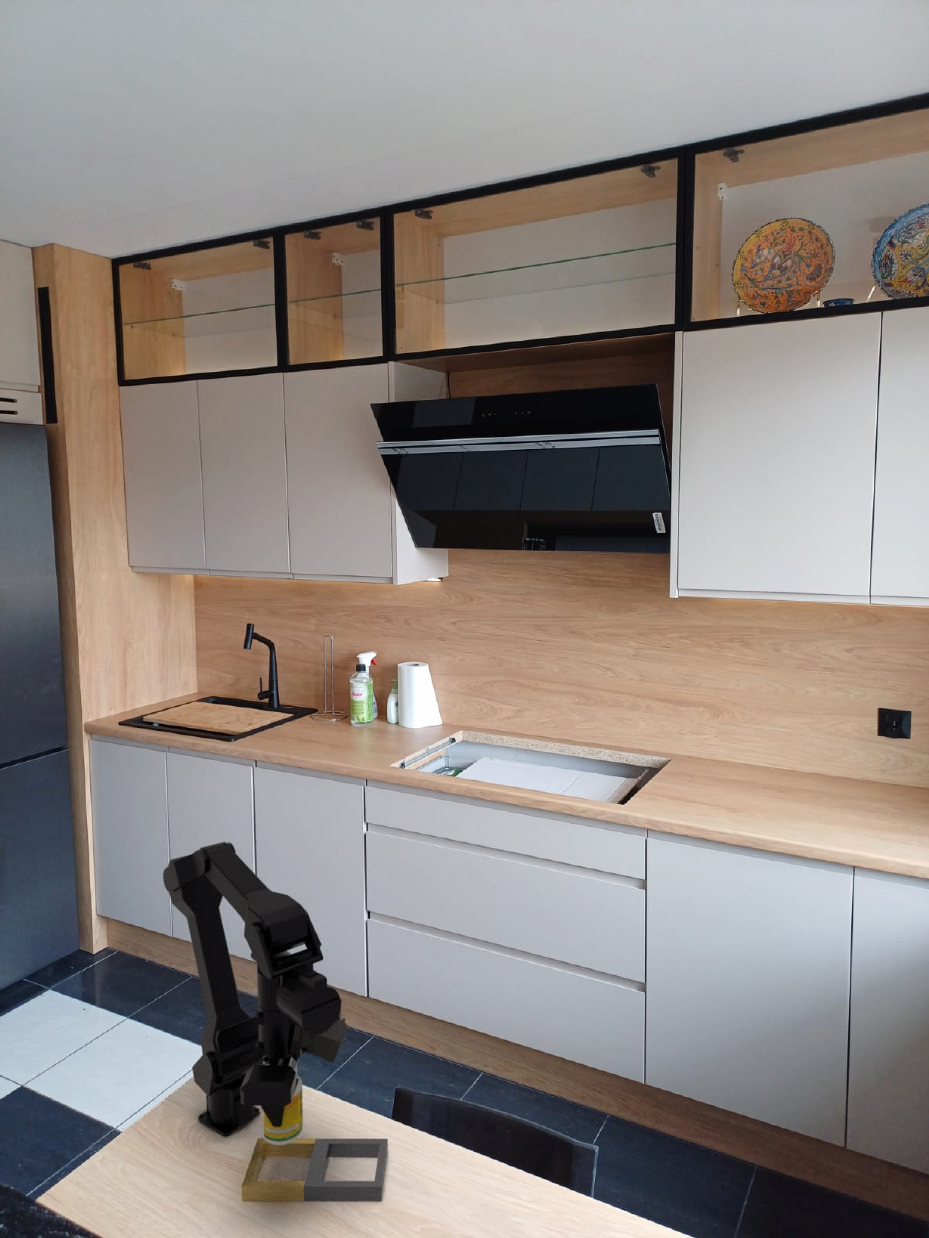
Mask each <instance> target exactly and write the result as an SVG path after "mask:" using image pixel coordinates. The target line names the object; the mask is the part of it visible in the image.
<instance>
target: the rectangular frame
mask: <svg viewBox="0 0 929 1238" xmlns="http://www.w3.org/2000/svg"><path fill="white" fill-rule="evenodd" d="M388 1140H389V1139H388V1138H299V1137H298V1138H297V1139H296V1140H295V1141H293V1142H291V1143H289V1144H286V1145H273V1144H270V1143H268V1142H267V1141H265V1140H264V1138H263V1137H261V1138H257V1140H256V1144H255V1146H254V1149H253V1152H252V1155H251V1158H250V1160H249V1163H248V1167H247V1168H246V1172H245V1175H244V1178H243V1181H242V1184H241V1186H240V1187H241V1201H242V1202H382V1201H383V1194H384V1193H383V1192H384V1184H385V1176H386V1171H387V1162H388V1161H387V1160H388V1155H389V1154H388V1153H389V1149H388V1148H389V1143H388V1142H389V1141H388ZM265 1158H310V1159H309V1164H308V1168H307V1172H306V1175H305V1179H304V1180H257V1179H258V1176H259V1173H260V1170H261V1167H262V1164H263V1160H264V1159H265ZM330 1158H377V1161H376V1168H375V1175H374V1180H325V1178H326V1174H327V1173H326V1172H327V1169H328V1163H329V1159H330Z"/></svg>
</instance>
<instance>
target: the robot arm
mask: <svg viewBox="0 0 929 1238" xmlns="http://www.w3.org/2000/svg"><path fill="white" fill-rule="evenodd" d="M236 852H237V851H236V849H235V846H234V845H233V843H231V842H229V841H228V842H226V841H222V842H218V843H215V844H214V843H213V844H209V845H205V846H202V847H200V848H199V849H198V850H195V851H194V852H193V853H191V854H186V855H183V856H179V857H175V858H172V859H170V860H169V862H168V865H167V866H166V867H165V868H164V870H163V873H162V875H163V876H162V878H163V879H162V880H163V884H164V887H165V889H166V891H167V892H168V895H169V898H170V901H171V902H170V903H171V904H172V905H173V906H174V907H175V908H176V909H177V910H178V911H179V912H180V913H181V914H182V915H183V916H184V917H185V918H186V921H187V925H188V930H189V934H190V939H191V945H192V949H193V953H194V959H195V963H196V968H197V971H198V972H197V973H198V977H199V982H200V987H201V992H202V995H203V1002H204V1006H205V1011H206V1016H207V1020H206V1023H205V1026H204V1029H203V1032H202V1035H201V1039H200V1044H201V1052H202V1055H201V1056H200V1057H199V1059H198V1060H197V1061H196V1062H195V1063H194V1064H193V1066H192V1074H193V1080H194V1083H195V1084H196V1085H197V1086H198V1087H199V1088H200V1090H202V1092H203V1093H204V1094H205V1097H206V1098H205V1099H206V1110H205V1111H204V1112H202V1113H201V1114H199V1115H198V1117H197V1119H198V1122H200V1123H202V1124H203V1125H205V1126H207V1127H209V1128H210V1129H212V1130H214V1131H215V1132H217V1133H219V1134H220V1135H222V1136H224V1137H228V1136H230V1135H231V1134H233V1133H234V1132H236V1131H237V1130H238V1129H240V1128H241V1127H243V1126H244V1125H246V1124H247V1123H248V1122H250V1121H252V1119H255V1117H257V1116H258V1115H260V1114H261V1112H260V1110H261V1109H260V1108H262V1109H263V1111H264V1113H265V1114H266V1116H267V1118H268V1119H269V1121H270V1123H271V1124H272V1126H273V1127H281V1125H282V1121H283V1115H284V1109H285V1106H286V1105H288V1104H290V1103H291V1102H292V1098H293V1095H294V1092H295V1090H296V1086H297V1083H298V1080H299V1079H296V1072H295V1071H294V1070H293V1068H292V1067H291V1066H290V1063H291V1060H292V1058H293V1059H294V1060H295V1061H296V1063H297V1064H298V1062H299V1059H300V1058H302V1055H304V1053H306V1054H308V1055H312V1056H315V1057H318V1058H320V1059H323V1060H324V1061H325V1062H328V1063H334V1062H336V1060H337V1058H338V1056H339V1053H340V1051H341V1047H342V1044H343V1042H344V1039H345V1036H346V1032H347V1027H348V1025H347V1023H346V1018H344V1017H343V1018H342V999H341V996H340V994H339V992H338V991H337V990H336V989H335V988H334V987H332V986H331V985H329V984H328V978H327V977H326V976H325V975H324V974H322V973H320V972H318V971H316V970H315V969H314V964H316V963H319V962H322V961H323V960H324V956H323V952H322V950H321V947H322V943H321V939H320V938H319V935H318V933H317V930H316V928H315V926H314V924H313V922H312V920H311V917H310V915H309V912H308V911H307V910H306V909H305V908H304V906H303V905H302V904H301V903H299V902H298V901H297V900H296V899H294V898H292V897H291V896H290V895H289V894H285V893H280V892H278V891H277V892H276V891H273V890H271V889H270V888H269V887H268V886H267V885H266V884H265V883H264V882H263V881H262V880H261V878H259V876H258V875H256V873H255V872H254V871H253V870H252V869H251V868H250V867H249V866H248V865H247V864H246V862H244V861H243V860H242V858H241V857H240V856H239V855H238V854H237V853H236ZM223 898H224V899H225V900H226V901H227V903H228V904H229V905H230V906H231V907H232V908H233V909H234V910H235V912H236V913H237V914H238V915H239V917H240V918H241V919H242V921H243V922H244V929H243V930H244V931H243V937H244V939H245V940H246V942H247V944H248V947H249V949H250V951H251V953H250V957H251V959H252V960H253V961H254V962H256V974H257V975H256V977H257V981H256V982H257V1010H256V1012H255V1013H254V1014H255V1015H254V1016H251V1015H249V1014H248V1012H246V1011H245V1010H244V1009H243V1007H242V1004H241V1001H240V996H239V992H238V985H237V982H236V978H235V973H234V970H233V964H232V960H231V956H230V955H231V954H230V952H229V951H230V950H229V947H228V942H227V936H226V933H225V928H224V924H223V918H222V915H221V910H220V907H221V903H222V900H223ZM301 946H305V949H302V950H299V951H297V952H294V953H291V952H289V951H290V950H293V949H296V948H298V947H301ZM267 1064H269V1065H267ZM258 1107H260V1108H258Z"/></svg>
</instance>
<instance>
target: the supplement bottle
mask: <svg viewBox="0 0 929 1238" xmlns="http://www.w3.org/2000/svg"><path fill="white" fill-rule="evenodd" d="M266 1065H269V1064H266ZM290 1066H291V1067H292V1068H293V1070H294V1071H295V1072H296V1079H299V1080H298V1083H297V1086H296V1090H295V1092H294V1095H293V1098H292V1102H291V1103H290V1104H288V1105H286V1106H285V1109H284V1115H283V1121H282V1125H281V1127H273V1126H272V1124H271V1123H270V1121H269V1119H268V1118H267V1116H266V1114H265V1113H264V1111H263V1109H262V1108H261V1107H260V1108H261V1109H260V1110H261V1112H260V1114H261V1135H262V1136H261V1137H262V1138H264V1140H265V1141H267V1142H268V1143H270V1144H273V1145H286V1144H289V1143H291V1142H293V1141H295V1140H296V1139H297V1138H299V1137H300V1136H301V1134H302V1133H303V1132H302V1131H303V1129H304V1128H303V1127H304V1126H303V1121H304V1120H303V1119H304V1118H303V1113H304V1112H303V1082H302V1081H303V1080H302V1078H301V1077H300V1075H299V1074H298V1063H296V1061H295V1060H294V1059H293V1058H292V1060H291V1063H290Z"/></svg>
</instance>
